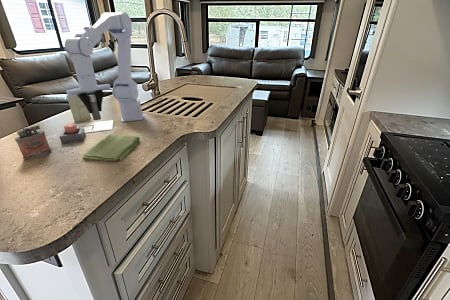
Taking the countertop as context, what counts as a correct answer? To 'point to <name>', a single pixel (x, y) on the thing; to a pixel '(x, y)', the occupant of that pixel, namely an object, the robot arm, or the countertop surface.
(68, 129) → the button
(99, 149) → the washcloth
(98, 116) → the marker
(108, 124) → the paper sheet
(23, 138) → the lighter
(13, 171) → the countertop surface
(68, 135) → the button housing
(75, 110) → the skincare box
